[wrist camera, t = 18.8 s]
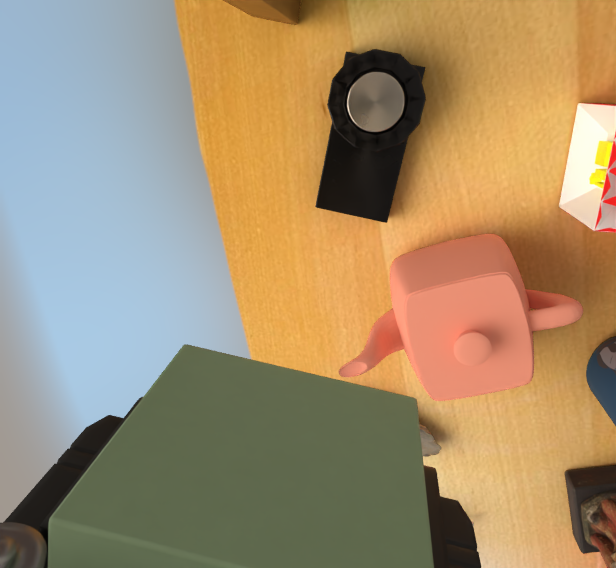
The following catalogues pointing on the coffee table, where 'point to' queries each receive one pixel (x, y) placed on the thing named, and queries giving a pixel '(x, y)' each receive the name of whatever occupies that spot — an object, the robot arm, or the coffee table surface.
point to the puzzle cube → (592, 168)
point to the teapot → (463, 319)
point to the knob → (375, 101)
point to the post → (270, 9)
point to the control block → (367, 140)
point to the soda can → (604, 376)
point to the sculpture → (594, 510)
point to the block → (251, 476)
